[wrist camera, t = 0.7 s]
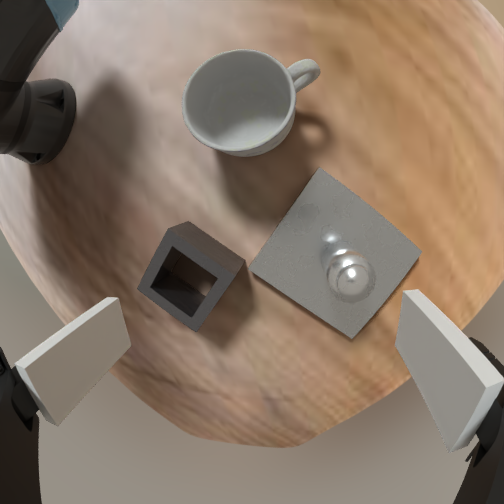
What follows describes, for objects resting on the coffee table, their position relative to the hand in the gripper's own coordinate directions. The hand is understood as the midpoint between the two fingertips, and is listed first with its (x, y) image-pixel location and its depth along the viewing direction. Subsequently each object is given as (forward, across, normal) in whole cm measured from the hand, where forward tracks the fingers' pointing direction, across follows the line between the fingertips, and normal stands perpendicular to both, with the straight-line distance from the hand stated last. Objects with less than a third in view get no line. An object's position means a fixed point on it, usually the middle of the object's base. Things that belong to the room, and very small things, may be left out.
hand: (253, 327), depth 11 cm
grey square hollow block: (+21, -10, -3) cm, 24 cm away
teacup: (+22, -1, +15) cm, 26 cm away
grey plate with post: (+21, +7, -3) cm, 23 cm away
